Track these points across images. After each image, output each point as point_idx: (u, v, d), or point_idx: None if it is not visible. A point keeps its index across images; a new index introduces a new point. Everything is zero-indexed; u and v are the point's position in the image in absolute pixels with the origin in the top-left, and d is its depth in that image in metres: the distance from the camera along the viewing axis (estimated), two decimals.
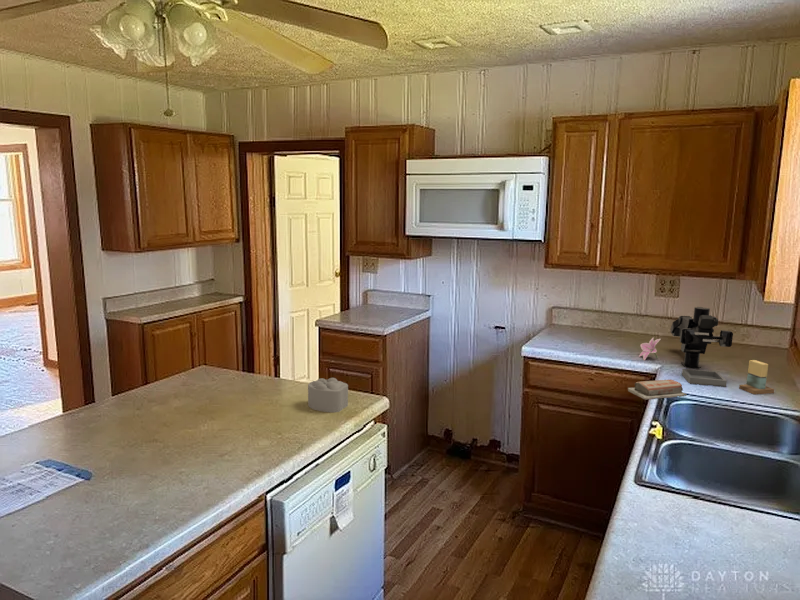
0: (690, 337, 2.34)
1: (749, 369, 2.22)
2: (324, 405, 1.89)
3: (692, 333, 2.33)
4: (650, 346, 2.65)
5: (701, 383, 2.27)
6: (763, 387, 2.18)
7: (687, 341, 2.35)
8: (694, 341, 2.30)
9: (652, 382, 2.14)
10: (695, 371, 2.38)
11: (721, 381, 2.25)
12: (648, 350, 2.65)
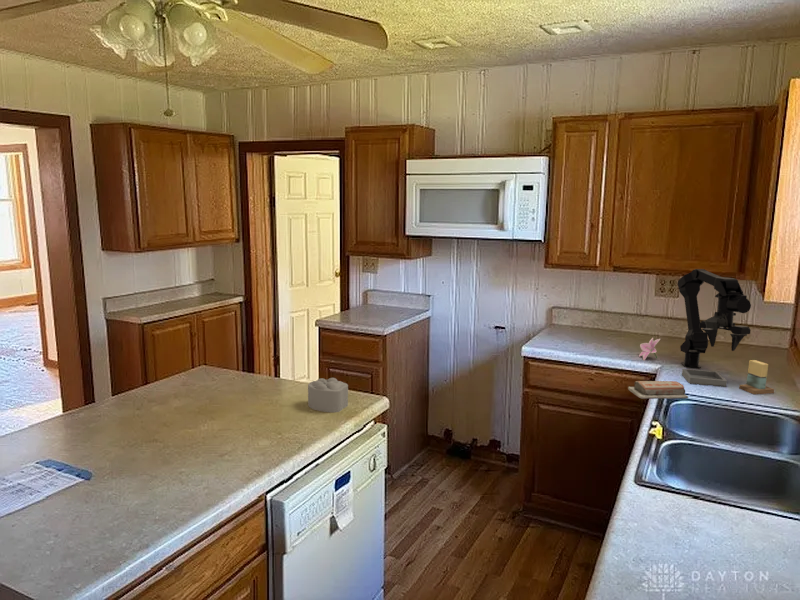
0: None
1: (749, 369, 2.22)
2: (324, 405, 1.89)
3: (707, 332, 2.37)
4: (650, 346, 2.65)
5: (701, 383, 2.27)
6: (763, 387, 2.18)
7: None
8: None
9: (652, 382, 2.14)
10: (695, 371, 2.38)
11: (721, 381, 2.25)
12: (648, 350, 2.65)
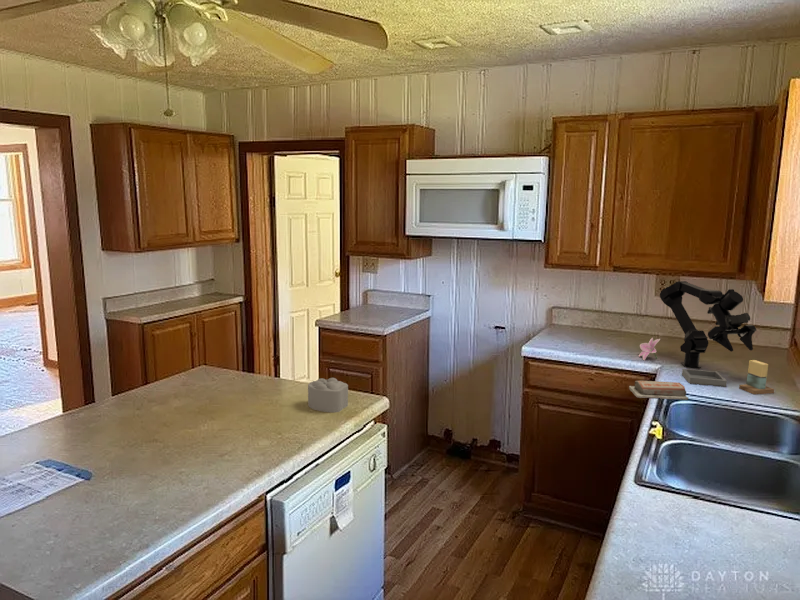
0: (721, 337, 2.29)
1: (749, 369, 2.22)
2: (324, 405, 1.89)
3: (726, 336, 2.27)
4: (649, 346, 2.65)
5: (701, 383, 2.27)
6: (763, 387, 2.18)
7: (716, 339, 2.30)
8: (726, 346, 2.28)
9: (652, 382, 2.14)
10: (695, 371, 2.38)
11: (721, 381, 2.25)
12: (647, 350, 2.65)
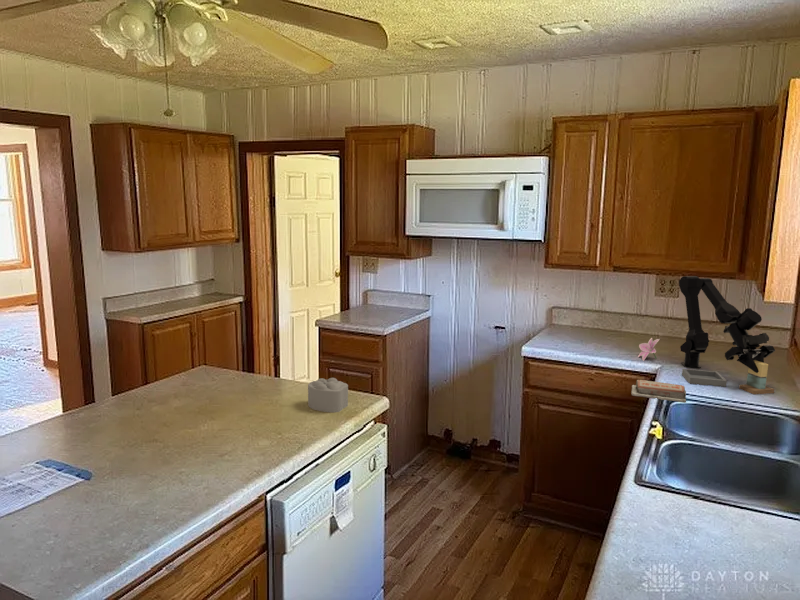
0: (745, 357, 2.22)
1: (749, 369, 2.22)
2: (324, 405, 1.89)
3: (750, 357, 2.20)
4: (649, 346, 2.65)
5: (701, 383, 2.27)
6: (763, 387, 2.18)
7: (740, 360, 2.23)
8: (750, 367, 2.20)
9: (653, 382, 2.14)
10: (695, 371, 2.38)
11: (721, 381, 2.25)
12: (647, 350, 2.65)
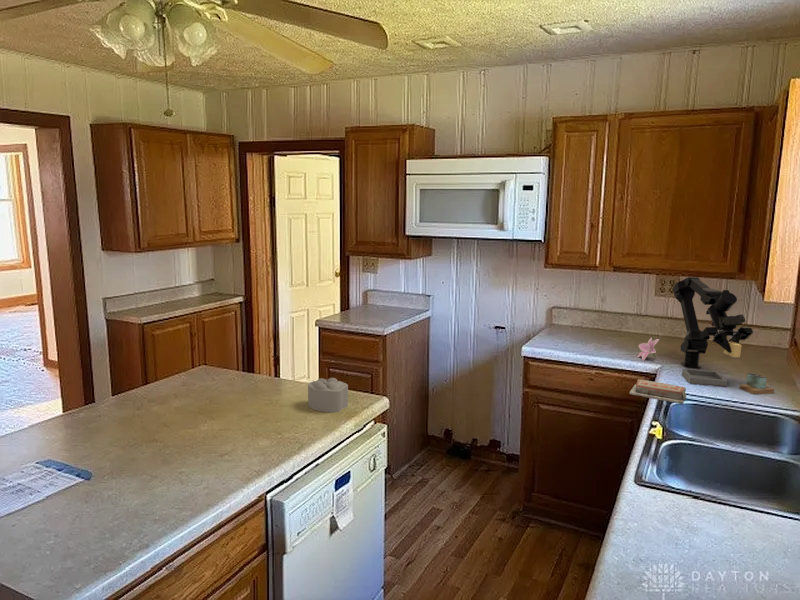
0: (720, 338, 2.26)
1: (724, 349, 2.27)
2: (324, 405, 1.89)
3: (724, 337, 2.24)
4: (649, 346, 2.65)
5: (701, 383, 2.27)
6: (763, 387, 2.18)
7: (715, 340, 2.28)
8: (724, 347, 2.25)
9: (653, 382, 2.14)
10: (695, 371, 2.38)
11: (721, 381, 2.25)
12: (647, 350, 2.64)
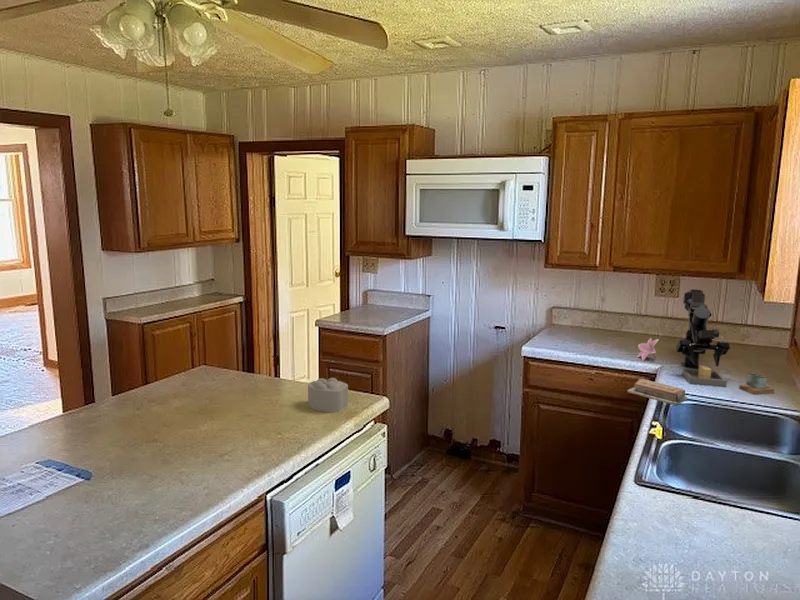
0: (688, 350, 2.35)
1: (698, 373, 2.35)
2: (324, 405, 1.89)
3: (691, 350, 2.33)
4: (648, 346, 2.64)
5: (701, 383, 2.27)
6: (763, 387, 2.18)
7: (684, 352, 2.36)
8: (691, 360, 2.33)
9: (653, 383, 2.14)
10: (695, 371, 2.38)
11: (721, 381, 2.25)
12: (646, 350, 2.64)
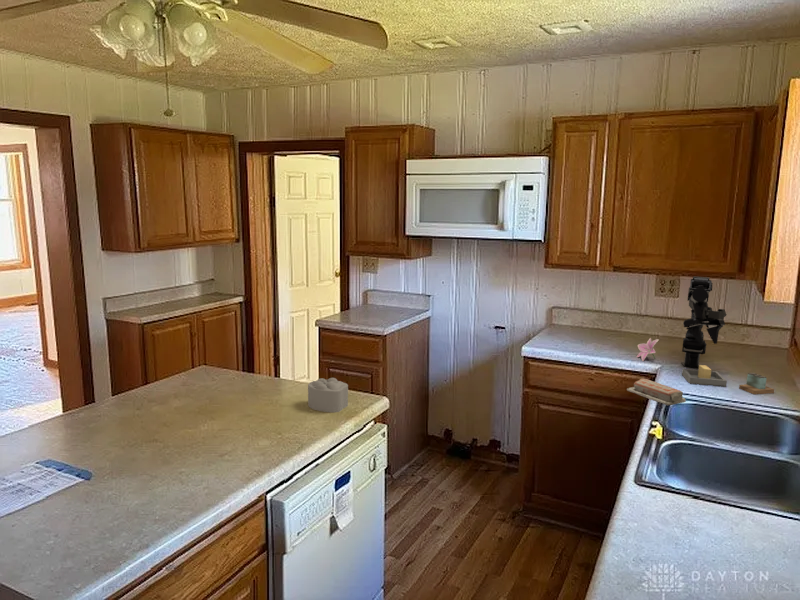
0: (695, 327, 2.36)
1: (698, 373, 2.35)
2: (324, 405, 1.89)
3: (700, 329, 2.34)
4: (648, 347, 2.64)
5: (701, 383, 2.27)
6: (763, 387, 2.18)
7: (689, 328, 2.37)
8: (696, 337, 2.36)
9: (653, 383, 2.14)
10: (695, 371, 2.38)
11: (721, 381, 2.25)
12: (646, 351, 2.64)
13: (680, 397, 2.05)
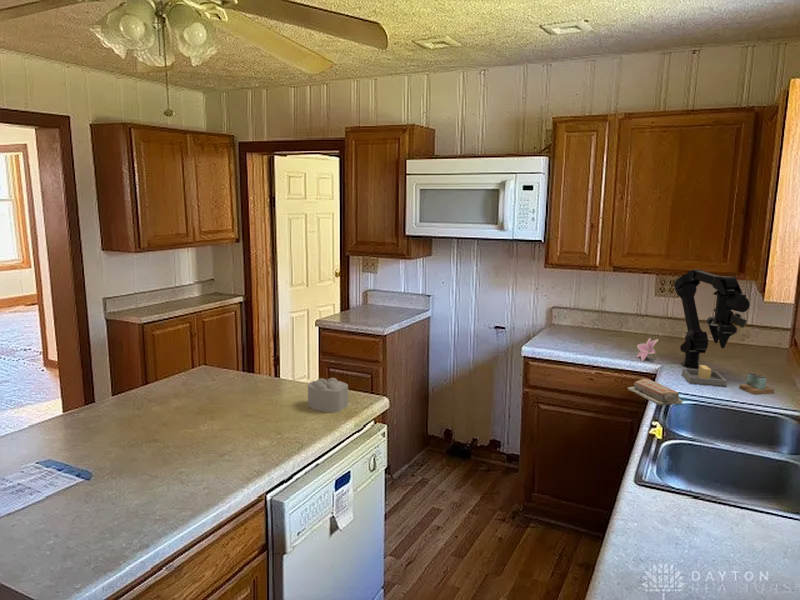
0: None
1: (698, 373, 2.35)
2: (324, 405, 1.89)
3: None
4: (647, 347, 2.64)
5: (701, 383, 2.27)
6: (763, 387, 2.18)
7: None
8: (721, 342, 2.31)
9: (653, 383, 2.14)
10: (695, 371, 2.38)
11: (721, 381, 2.25)
12: (645, 351, 2.64)
13: (675, 398, 2.04)
